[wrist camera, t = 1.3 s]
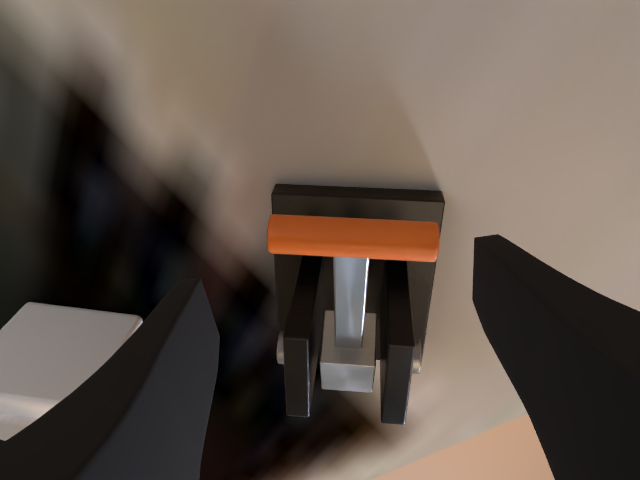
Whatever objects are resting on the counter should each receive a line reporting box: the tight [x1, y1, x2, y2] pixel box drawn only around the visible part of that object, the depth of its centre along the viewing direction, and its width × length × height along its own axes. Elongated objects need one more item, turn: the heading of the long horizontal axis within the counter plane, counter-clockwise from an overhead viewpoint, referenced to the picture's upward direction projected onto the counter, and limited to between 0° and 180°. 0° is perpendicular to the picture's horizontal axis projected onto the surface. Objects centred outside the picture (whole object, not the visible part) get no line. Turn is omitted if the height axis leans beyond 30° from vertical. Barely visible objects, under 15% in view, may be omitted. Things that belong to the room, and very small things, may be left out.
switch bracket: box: [271, 184, 445, 425], centre depth 23 cm, size 10×8×8 cm
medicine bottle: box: [0, 302, 143, 444], centre depth 26 cm, size 7×7×12 cm
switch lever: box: [267, 214, 439, 392], centre depth 19 cm, size 10×5×2 cm, turn 1°
